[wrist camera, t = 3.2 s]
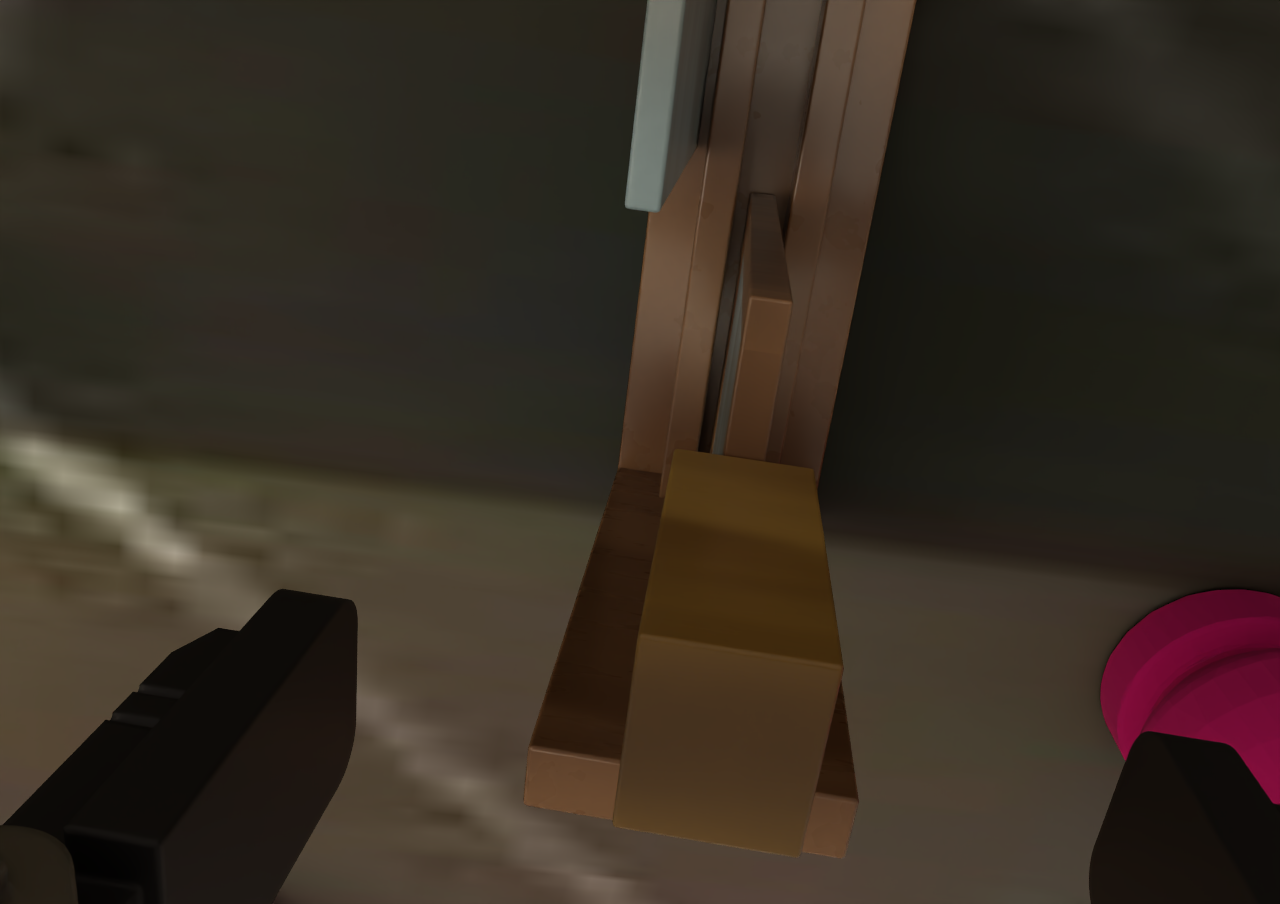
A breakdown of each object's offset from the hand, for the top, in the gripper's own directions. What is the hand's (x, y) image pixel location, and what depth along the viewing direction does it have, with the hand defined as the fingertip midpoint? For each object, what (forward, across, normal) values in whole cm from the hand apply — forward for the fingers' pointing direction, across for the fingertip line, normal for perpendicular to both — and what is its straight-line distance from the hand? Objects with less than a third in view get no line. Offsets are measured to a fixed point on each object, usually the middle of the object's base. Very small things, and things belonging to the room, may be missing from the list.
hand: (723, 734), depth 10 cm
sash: (+16, 0, 0) cm, 16 cm away
